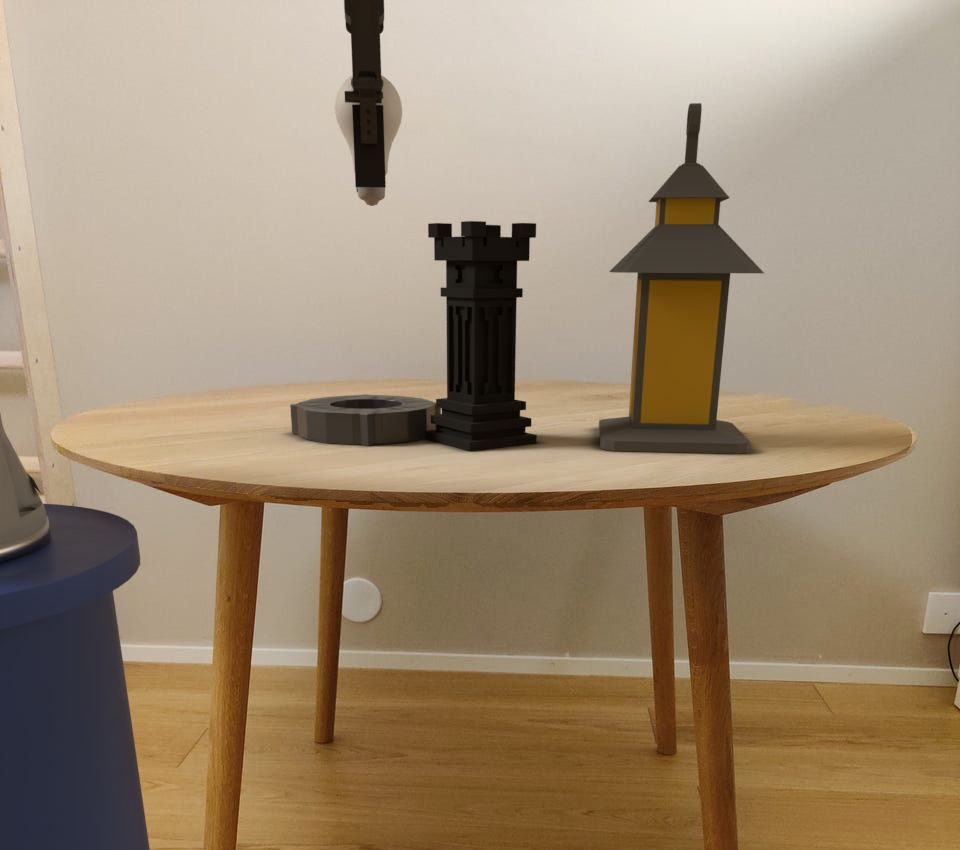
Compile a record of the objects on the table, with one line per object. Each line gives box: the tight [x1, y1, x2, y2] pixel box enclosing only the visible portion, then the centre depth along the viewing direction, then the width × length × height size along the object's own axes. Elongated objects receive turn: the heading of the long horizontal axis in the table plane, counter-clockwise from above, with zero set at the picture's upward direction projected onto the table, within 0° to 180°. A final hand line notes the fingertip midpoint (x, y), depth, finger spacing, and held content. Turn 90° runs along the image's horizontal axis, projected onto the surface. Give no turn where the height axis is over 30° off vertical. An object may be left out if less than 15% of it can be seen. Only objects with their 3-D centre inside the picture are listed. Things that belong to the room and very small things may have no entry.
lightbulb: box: [334, 74, 403, 207], centre depth 88 cm, size 6×6×11 cm
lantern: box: [598, 102, 765, 455], centre depth 91 cm, size 14×14×30 cm
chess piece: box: [425, 220, 538, 452], centre depth 92 cm, size 8×8×20 cm
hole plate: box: [289, 393, 442, 446], centre depth 99 cm, size 14×14×3 cm
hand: (370, 189), depth 89 cm, fingers closed on lightbulb, 6 cm apart
